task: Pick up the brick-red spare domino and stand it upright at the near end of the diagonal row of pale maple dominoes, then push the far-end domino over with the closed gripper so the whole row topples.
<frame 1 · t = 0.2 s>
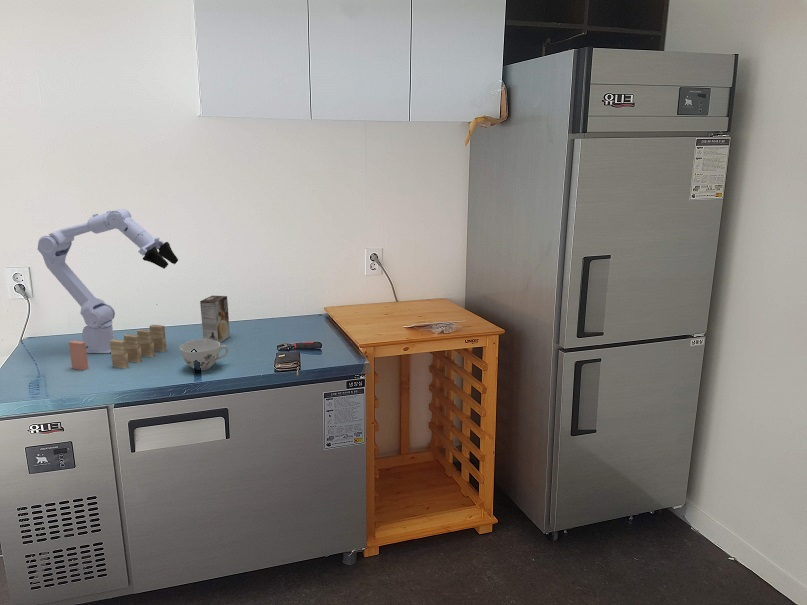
hand: (171, 264, 210), 32 cm above the table, tool tilted 50°, fingers open, 7 cm apart
end domino: (80, 368, 202), on the table
domino 2: (147, 355, 215), on the table
domino 1: (159, 350, 221), on the table
domino 3: (134, 360, 210), on the table
teacup: (205, 367, 204), on the table
domino 4: (120, 366, 204), on the table
coffee box: (216, 340, 233), on the table
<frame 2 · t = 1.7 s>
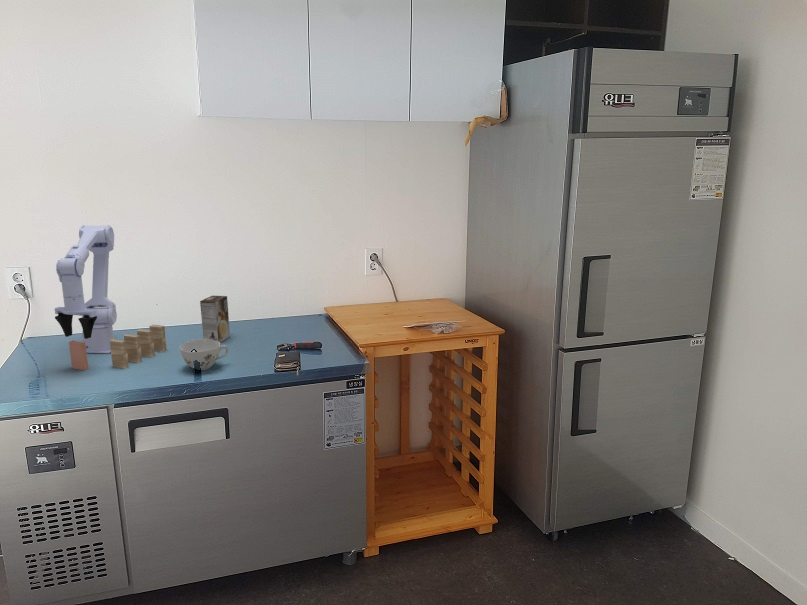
hand: (78, 337, 199), 11 cm above the table, tool pointing down, fingers open, 7 cm apart
nothing on the table moved.
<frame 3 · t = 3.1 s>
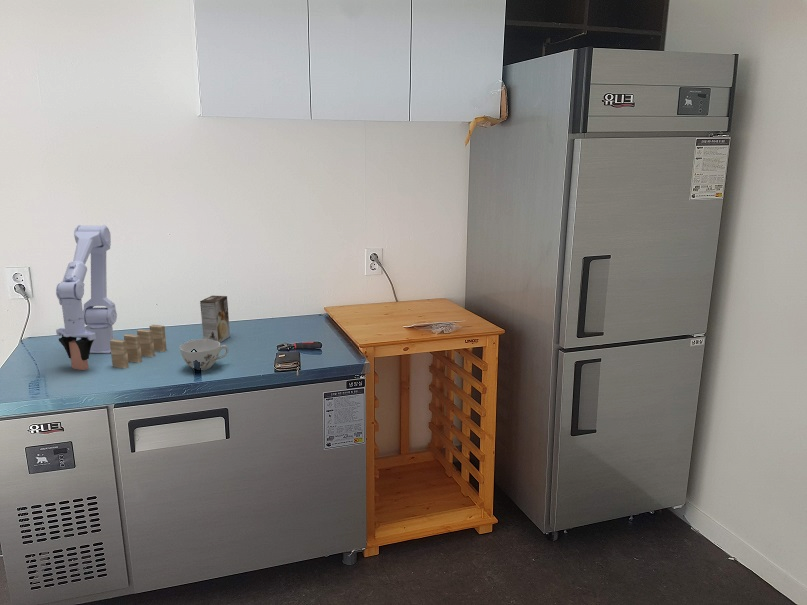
hand: (79, 358, 202), 3 cm above the table, tool pointing down, fingers closed on end domino, 5 cm apart
end domino: (80, 368, 202), on the table, touching gripper
everything else where it was.
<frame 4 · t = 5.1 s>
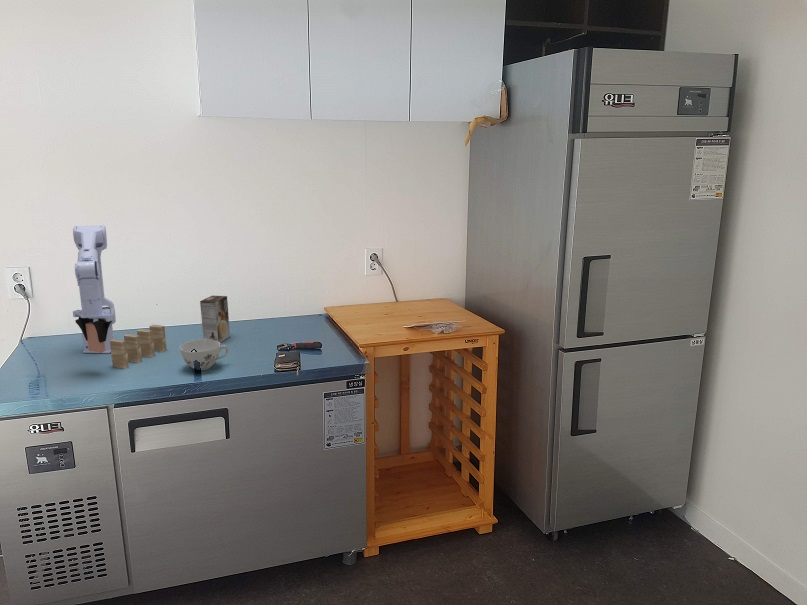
hand: (96, 340, 197), 10 cm above the table, tool pointing down, fingers closed on end domino, 5 cm apart
end domino: (97, 350, 198), point 7 cm above the table, touching gripper
everything else where it was.
when the fingers open (4 cm above the table, at t = 7.3 s): end domino stays where it is, on the table.
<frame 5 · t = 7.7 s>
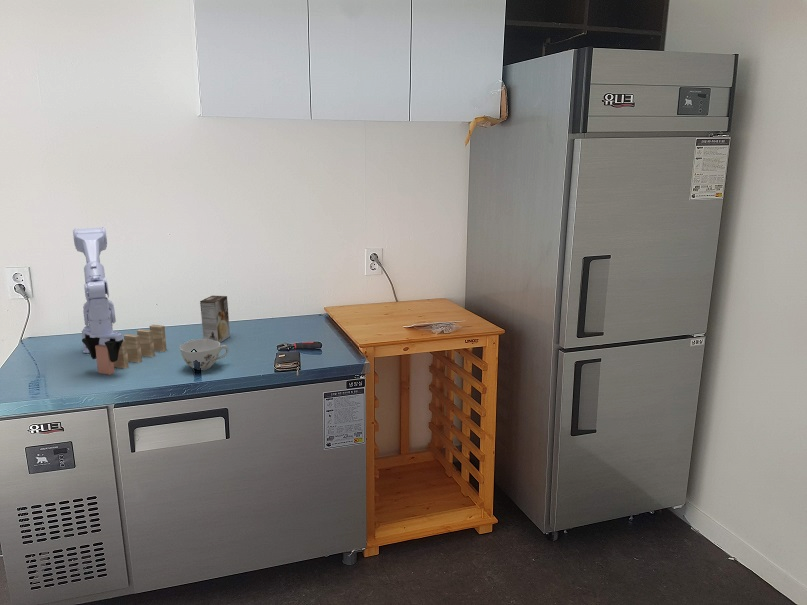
hand: (104, 359, 198), 4 cm above the table, tool pointing down, fingers open, 7 cm apart
end domino: (106, 372, 199), on the table
everything else where it was.
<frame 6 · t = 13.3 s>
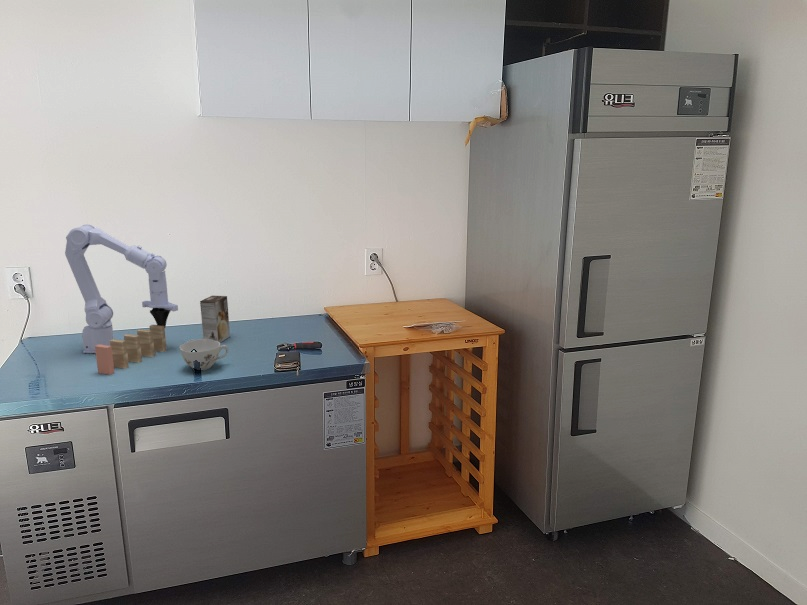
hand: (162, 328, 221), 7 cm above the table, tool pointing down, fingers closed
domino 1: (159, 350, 221), on the table, touching gripper
everything else where it was.
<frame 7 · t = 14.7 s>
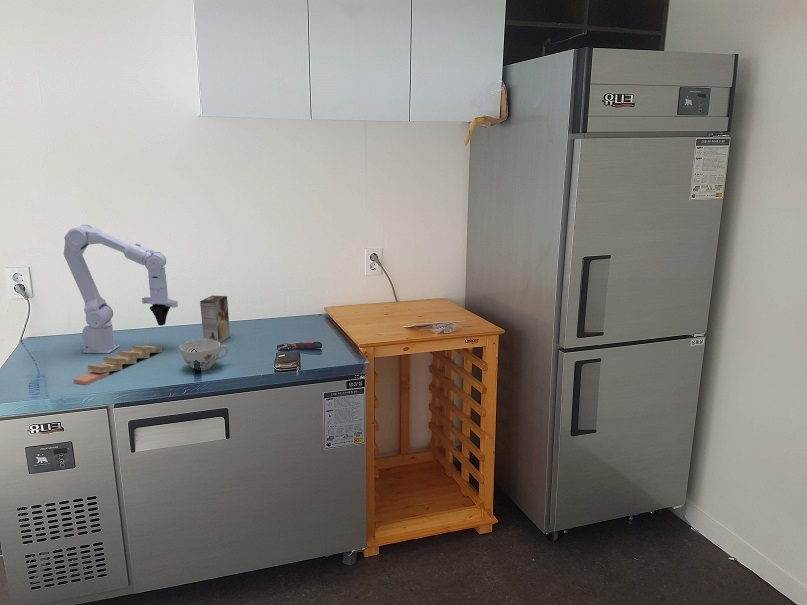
hand: (161, 324, 221), 9 cm above the table, tool pointing down, fingers closed
end domino: (103, 373, 198), on the table, tilted 90°, touching domino 4
domino 2: (143, 354, 214), point 1 cm above the table, tilted 73°, touching domino 1, domino 3
domino 1: (156, 348, 219), point 1 cm above the table, tilted 73°, touching domino 2
domino 3: (130, 360, 208), point 1 cm above the table, tilted 73°, touching domino 2, domino 4
domino 4: (116, 365, 202), point 1 cm above the table, tilted 77°, touching domino 3, end domino
everything else where it was.
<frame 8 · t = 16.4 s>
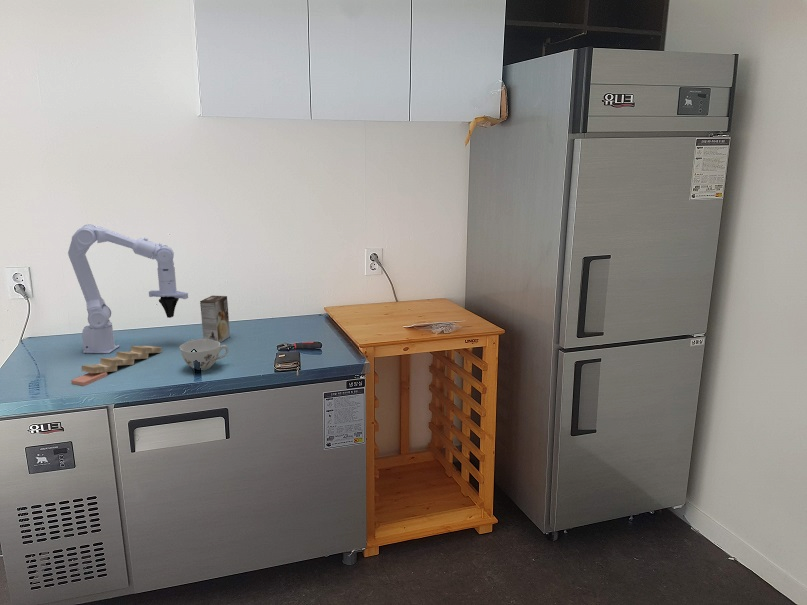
hand: (170, 316, 224), 10 cm above the table, tool pointing down, fingers closed
end domino: (101, 374, 197), on the table, tilted 90°
domino 3: (128, 360, 207), point 1 cm above the table, tilted 74°, touching domino 2
domino 4: (111, 367, 201), point 1 cm above the table, tilted 76°
at the end: end domino tilted 90°; domino 1 tilted 74° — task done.
